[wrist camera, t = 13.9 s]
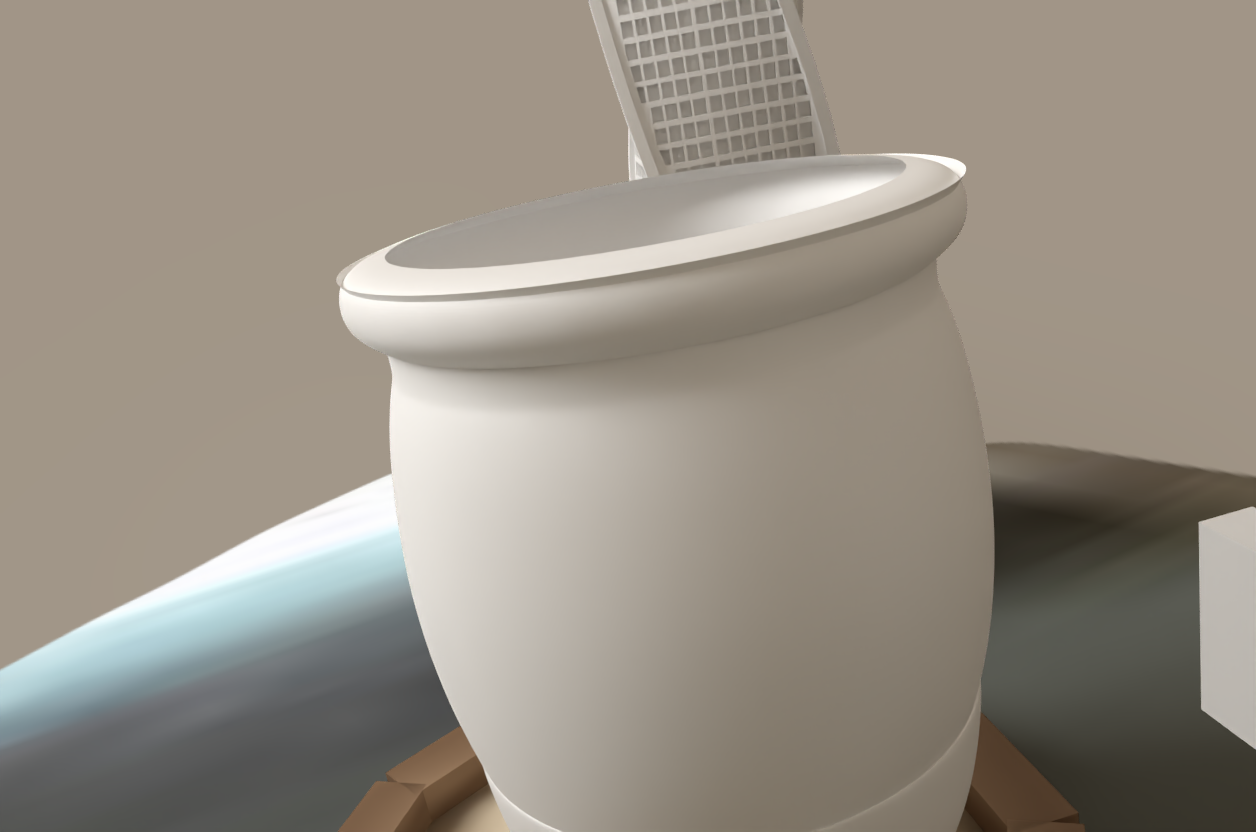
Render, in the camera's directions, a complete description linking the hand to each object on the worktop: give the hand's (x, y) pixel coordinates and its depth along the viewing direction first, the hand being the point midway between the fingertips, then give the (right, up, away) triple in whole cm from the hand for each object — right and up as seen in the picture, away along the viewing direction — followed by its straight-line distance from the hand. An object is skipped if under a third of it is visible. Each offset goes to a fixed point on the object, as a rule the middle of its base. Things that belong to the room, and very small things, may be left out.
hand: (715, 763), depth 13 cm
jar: (+2, -7, +10) cm, 12 cm away
